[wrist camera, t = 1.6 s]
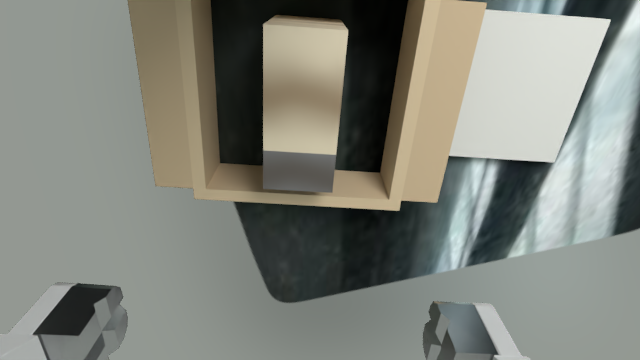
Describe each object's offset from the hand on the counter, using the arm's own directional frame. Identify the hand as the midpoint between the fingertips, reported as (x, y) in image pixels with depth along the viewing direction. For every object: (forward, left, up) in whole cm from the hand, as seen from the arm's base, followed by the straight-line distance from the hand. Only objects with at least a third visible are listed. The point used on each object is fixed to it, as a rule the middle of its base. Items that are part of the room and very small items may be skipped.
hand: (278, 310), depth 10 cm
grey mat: (-1, +18, -24) cm, 30 cm away
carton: (0, 0, -24) cm, 24 cm away
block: (0, 0, -24) cm, 24 cm away
